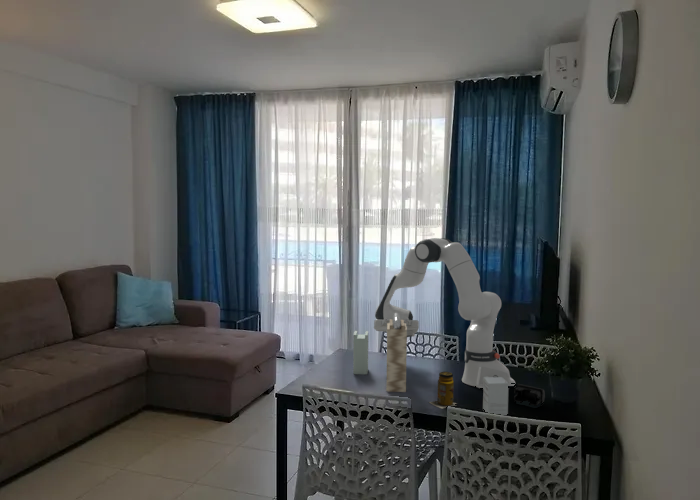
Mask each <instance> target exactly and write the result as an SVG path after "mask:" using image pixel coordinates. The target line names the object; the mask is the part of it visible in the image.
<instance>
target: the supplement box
mask: <svg viewBox="0 0 700 500" xmlns="http://www.w3.org/2000/svg"><path fill="white" fill-rule="evenodd" d="M482 390H483V393H482V394H483V396H482V410H483V409H484V410H485V412H488V413H494V414H501V415H507V414H509V388H508V383H507V381H506V380H504V379H503V378H502V377H484V378H483V389H482ZM484 410H483V411H484ZM485 412H484V413H485Z"/></svg>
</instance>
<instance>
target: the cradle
mask: <svg viewBox="0 0 700 500" xmlns="http://www.w3.org/2000/svg"><path fill="white" fill-rule="evenodd" d="M352 342H353V349H352V350H353V353H352V355H353V356H352V357H353V358H352V361H353V364H352V366H353V367H352V370H353V373H352V374H353V375H368V372H369V331H368V330H366V331H365V332H364V334H359V333H358V330H354V332H353V339H352Z"/></svg>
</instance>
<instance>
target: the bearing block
mask: <svg viewBox="0 0 700 500" xmlns="http://www.w3.org/2000/svg"><path fill="white" fill-rule="evenodd" d="M407 339H408V337H407V327H406V323H404V320H401V327H400V329H395V328H394V327H393V322H392V319H390V323H387V332H386V388H385V390H386V392H389V393H390V392H392V393H406V392H407V352H408V350H407V345H408V344H407V343H408V340H407Z"/></svg>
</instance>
